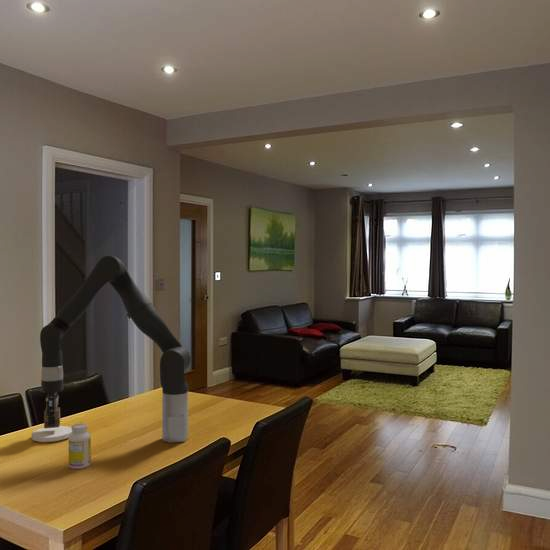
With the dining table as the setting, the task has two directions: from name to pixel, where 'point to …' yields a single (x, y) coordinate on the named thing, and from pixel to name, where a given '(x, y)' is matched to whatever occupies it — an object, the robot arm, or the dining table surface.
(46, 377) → the robot arm
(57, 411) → the walnut block
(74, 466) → the supplement bottle
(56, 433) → the plastic lid
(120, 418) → the dining table surface
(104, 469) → the dining table surface
